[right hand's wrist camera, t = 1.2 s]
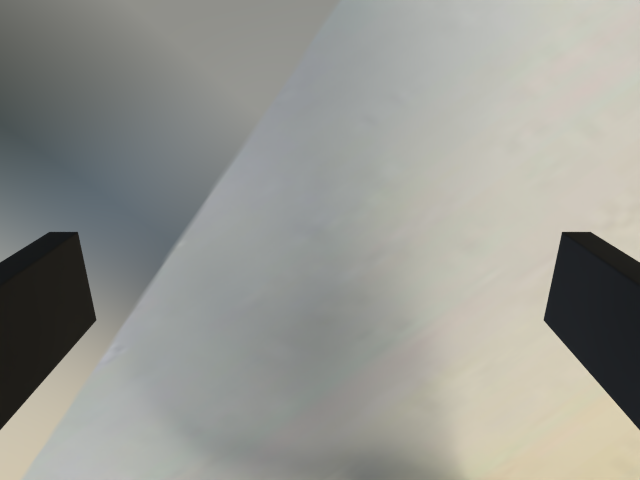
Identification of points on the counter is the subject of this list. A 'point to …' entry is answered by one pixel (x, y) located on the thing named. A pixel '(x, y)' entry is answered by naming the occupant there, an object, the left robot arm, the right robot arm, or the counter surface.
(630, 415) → the right robot arm
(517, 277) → the counter surface
